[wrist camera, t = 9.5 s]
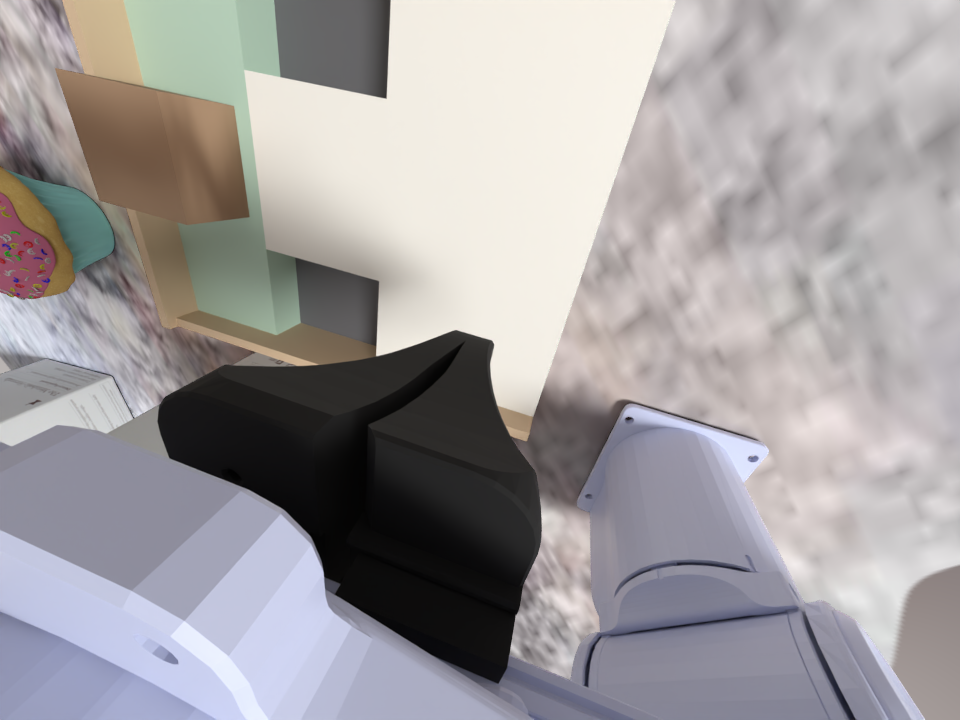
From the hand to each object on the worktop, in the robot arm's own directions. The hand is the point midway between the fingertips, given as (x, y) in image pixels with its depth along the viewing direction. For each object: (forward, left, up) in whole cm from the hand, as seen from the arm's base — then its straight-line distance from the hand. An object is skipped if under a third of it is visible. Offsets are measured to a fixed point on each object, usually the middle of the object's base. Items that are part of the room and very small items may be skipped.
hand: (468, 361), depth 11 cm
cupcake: (-4, +32, -10) cm, 34 cm away
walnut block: (+3, +17, -7) cm, 19 cm away
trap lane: (+3, +9, -9) cm, 13 cm away
